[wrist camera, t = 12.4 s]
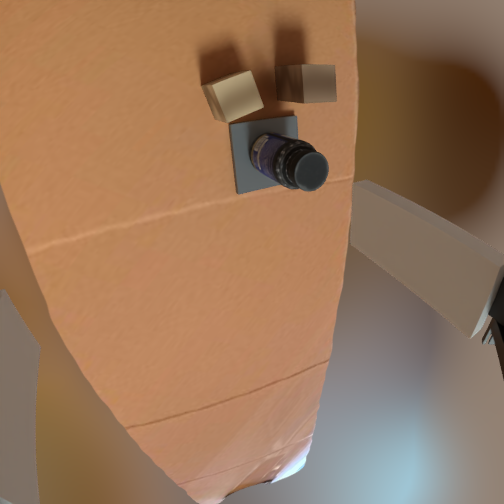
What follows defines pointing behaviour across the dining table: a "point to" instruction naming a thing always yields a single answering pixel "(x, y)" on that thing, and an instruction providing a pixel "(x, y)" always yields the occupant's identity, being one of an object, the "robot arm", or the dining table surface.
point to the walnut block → (306, 83)
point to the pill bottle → (289, 161)
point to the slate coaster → (241, 145)
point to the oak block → (233, 96)
